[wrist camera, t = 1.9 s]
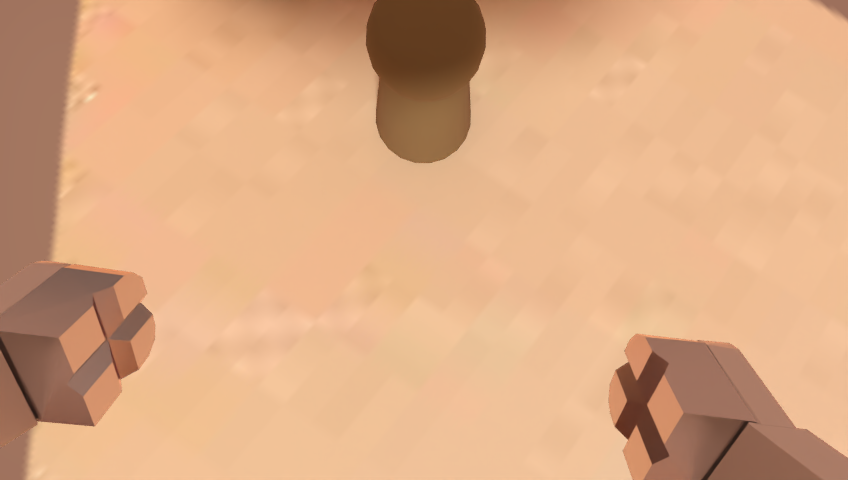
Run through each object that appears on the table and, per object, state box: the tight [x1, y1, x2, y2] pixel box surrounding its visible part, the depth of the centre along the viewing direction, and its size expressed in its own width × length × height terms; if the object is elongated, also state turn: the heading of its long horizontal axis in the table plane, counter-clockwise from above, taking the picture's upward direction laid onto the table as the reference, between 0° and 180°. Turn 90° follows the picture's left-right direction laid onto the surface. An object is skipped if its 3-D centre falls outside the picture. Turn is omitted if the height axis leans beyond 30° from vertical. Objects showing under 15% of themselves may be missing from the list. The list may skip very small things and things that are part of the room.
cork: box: [366, 0, 486, 163], centre depth 24 cm, size 6×6×11 cm
